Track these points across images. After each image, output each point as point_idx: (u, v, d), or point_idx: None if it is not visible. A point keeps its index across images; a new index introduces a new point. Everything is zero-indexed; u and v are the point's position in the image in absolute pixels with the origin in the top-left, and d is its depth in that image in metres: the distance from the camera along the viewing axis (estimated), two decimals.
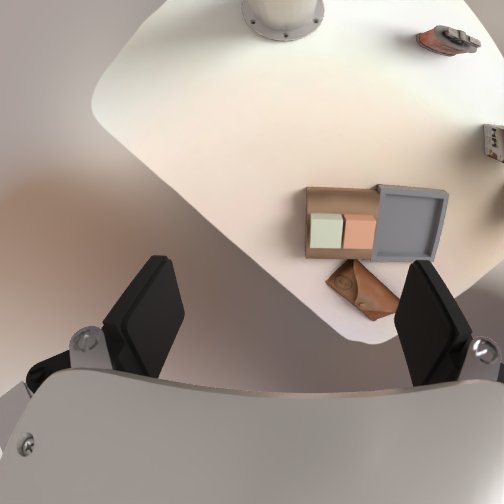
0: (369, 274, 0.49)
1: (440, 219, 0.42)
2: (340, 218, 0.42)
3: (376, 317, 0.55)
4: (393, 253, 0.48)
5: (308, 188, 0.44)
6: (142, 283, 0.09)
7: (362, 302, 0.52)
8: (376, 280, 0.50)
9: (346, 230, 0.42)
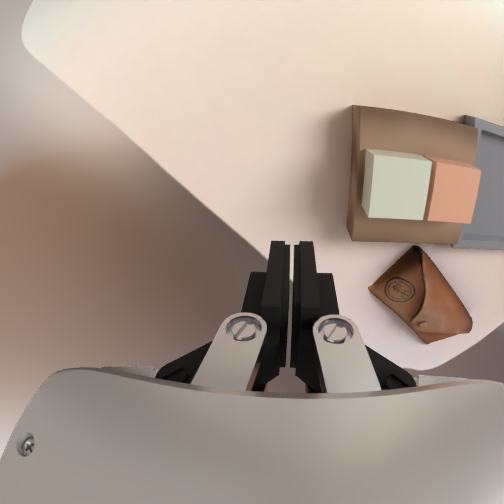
0: (441, 276, 0.26)
1: None
2: (425, 159, 0.18)
3: (434, 340, 0.32)
4: (480, 236, 0.24)
5: None
6: (280, 266, 0.09)
7: (423, 321, 0.29)
8: (448, 285, 0.26)
9: (436, 183, 0.18)
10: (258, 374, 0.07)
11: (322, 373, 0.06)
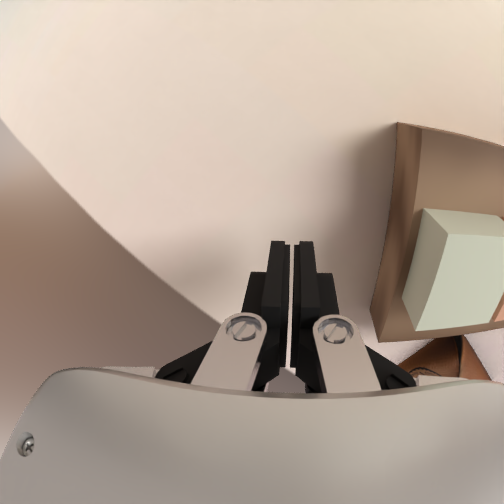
0: (477, 361, 0.16)
1: None
2: None
3: None
4: None
5: (408, 124, 0.10)
6: (280, 266, 0.09)
7: None
8: (481, 367, 0.17)
9: None
10: (258, 374, 0.07)
11: (322, 373, 0.06)
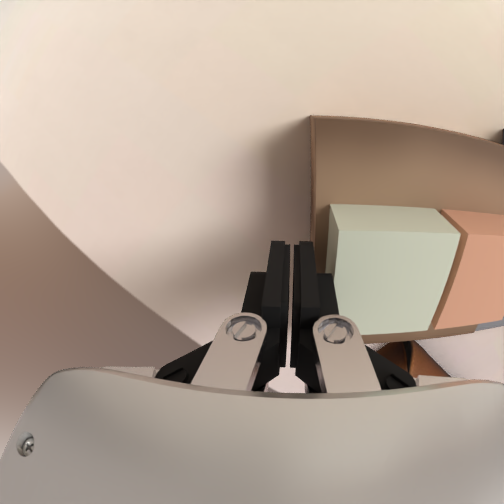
0: (436, 371, 0.17)
1: None
2: (447, 226, 0.09)
3: None
4: None
5: (315, 116, 0.11)
6: (280, 266, 0.09)
7: None
8: None
9: (460, 272, 0.09)
10: (258, 374, 0.07)
11: (322, 373, 0.06)
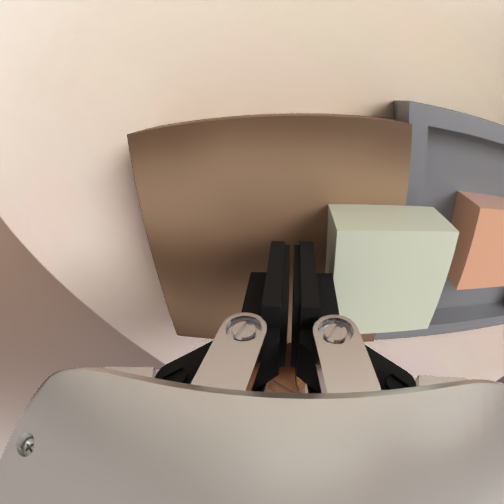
0: None
1: None
2: (446, 224, 0.09)
3: None
4: (434, 313, 0.16)
5: (149, 128, 0.12)
6: (280, 266, 0.09)
7: None
8: None
9: None
10: (258, 374, 0.07)
11: (322, 373, 0.06)
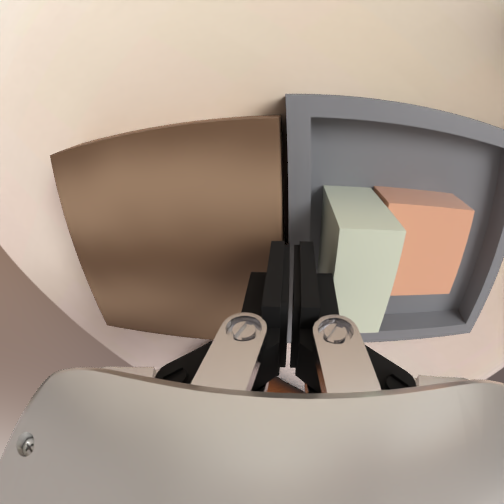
0: None
1: None
2: (361, 189, 0.13)
3: None
4: None
5: None
6: (280, 266, 0.09)
7: None
8: None
9: None
10: (258, 374, 0.07)
11: (322, 373, 0.06)
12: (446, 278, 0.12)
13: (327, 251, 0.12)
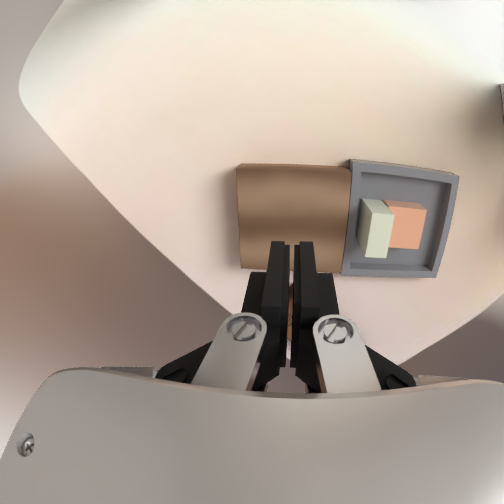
0: None
1: (447, 215, 0.28)
2: (377, 200, 0.30)
3: None
4: (376, 265, 0.33)
5: (241, 165, 0.30)
6: (280, 266, 0.09)
7: None
8: None
9: None
10: (258, 374, 0.07)
11: (322, 373, 0.06)
12: (415, 241, 0.29)
13: (365, 224, 0.29)
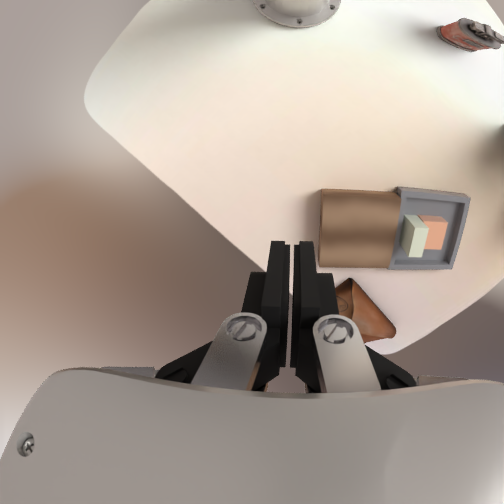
0: (366, 298, 0.47)
1: (461, 224, 0.37)
2: (414, 215, 0.39)
3: (367, 340, 0.53)
4: (411, 261, 0.43)
5: (323, 190, 0.39)
6: (280, 266, 0.09)
7: None
8: (373, 304, 0.47)
9: None
10: (258, 374, 0.07)
11: (322, 373, 0.06)
12: (439, 244, 0.39)
13: (407, 234, 0.38)
